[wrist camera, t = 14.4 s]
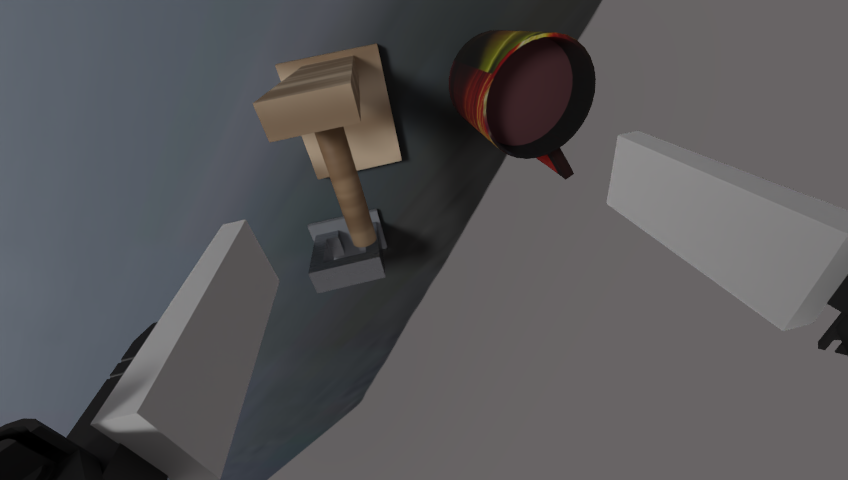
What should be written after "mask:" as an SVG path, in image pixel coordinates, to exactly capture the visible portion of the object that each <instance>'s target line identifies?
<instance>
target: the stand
mask: <svg viewBox="0 0 848 480" xmlns="http://www.w3.org/2000/svg"><path fill="white" fill-rule="evenodd" d="M275 66H276V69H277V72H278V74H279V77H280V80H281V82H280V83H279V84H278V85H276V86H275V87H274V88H273V89H271V90H270V91H269V92H267V93H266V94H265V95H263V96H262V97H261V98H259V99H258V100H257V101H255V102H254V103H253V105H254V108H255V110H256V112H257V115H258V117H259V119H260V122H261V124H262V126H263V128H264V131H265V133H266V135H267V138H268V140H269V142H274V141H278V140H283V139H288V138H292V137H297V136H301V135H302V138H303V141H304V143H305V146H306V149H307V151H308V154H309V157H310V159H311V162H312V165H313V167H314V170H315V173H316V175H317V178H318V179H322V178H327V177H330V179H331V182H332V184H333V187H334V190H335V193H336V196H337V199H338V201H339V204H340V207H341V210H342V213H343V216H344V219H345V221H346V224H347V227H348V230H349V233H350V236H351V238H352V241H353V244H354V246H356V247H367V246H369V245H371V244H373V243H374V242H375V241H376V239H377V237H376V234H375V230H374V227H373V224H372V220H371V217H370V214H369V210H368V207H367V204H366V200H365V197H364V194H363V190H362V187H361V184H360V180H359V177H358V174H357V171H358V170H362V169H367V168H371V167H376V166H380V165H384V164H389V163H393V162H398V161H402V159H401V154H400V149H399V145H398V140H397V135H396V130H395V126H394V121H393V116H392V112H391V107H390V102H389V98H388V93H387V88H386V84H385V79H384V74H383V70H382V65H381V60H380V56H379V51H378V46H377V44H371V45H367V46H362V47H357V48H352V49H347V50H342V51H338V52H333V53H328V54H323V55H318V56H313V57H308V58H304V59H299V60H294V61H289V62H284V63H279V64H276V65H275Z"/></svg>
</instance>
